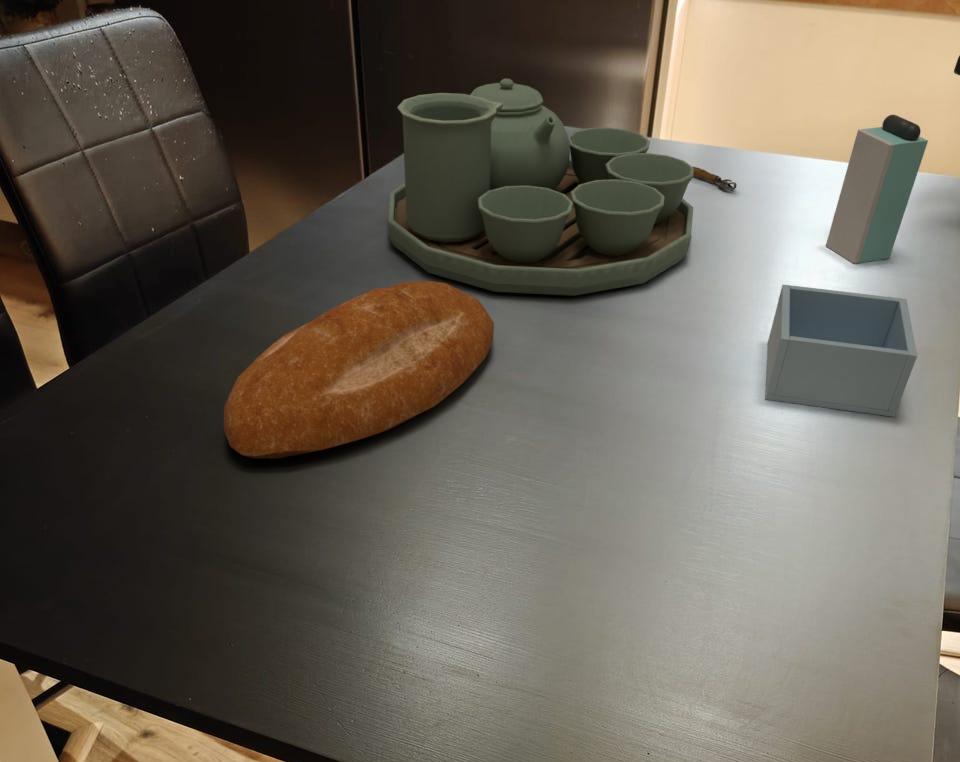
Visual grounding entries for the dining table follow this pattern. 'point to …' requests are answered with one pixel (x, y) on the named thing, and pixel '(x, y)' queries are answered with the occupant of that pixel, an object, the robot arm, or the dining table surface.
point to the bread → (358, 370)
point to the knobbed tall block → (876, 190)
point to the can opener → (714, 178)
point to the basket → (840, 350)
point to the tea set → (533, 197)
